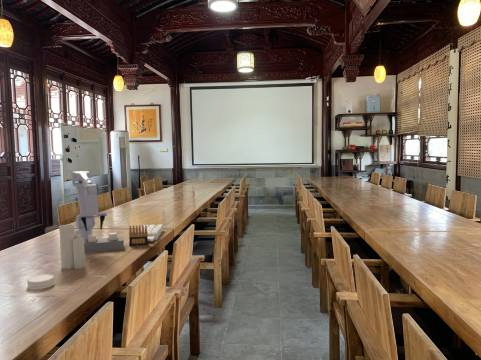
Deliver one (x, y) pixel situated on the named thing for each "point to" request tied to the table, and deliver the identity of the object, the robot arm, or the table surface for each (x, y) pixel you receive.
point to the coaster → (40, 282)
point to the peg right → (112, 236)
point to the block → (103, 245)
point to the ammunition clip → (139, 239)
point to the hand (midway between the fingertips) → (93, 230)
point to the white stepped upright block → (71, 248)
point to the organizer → (152, 231)
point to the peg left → (92, 238)
